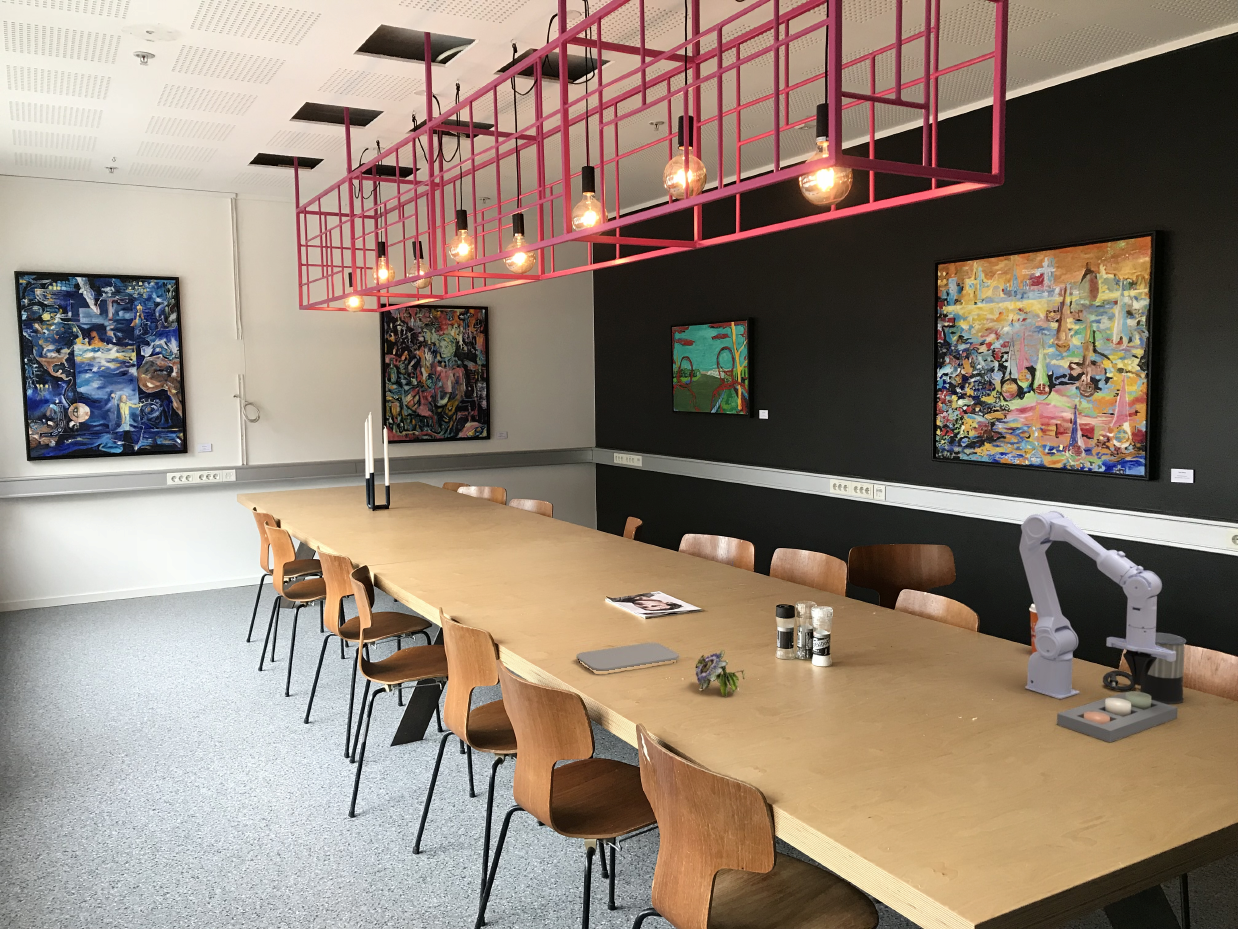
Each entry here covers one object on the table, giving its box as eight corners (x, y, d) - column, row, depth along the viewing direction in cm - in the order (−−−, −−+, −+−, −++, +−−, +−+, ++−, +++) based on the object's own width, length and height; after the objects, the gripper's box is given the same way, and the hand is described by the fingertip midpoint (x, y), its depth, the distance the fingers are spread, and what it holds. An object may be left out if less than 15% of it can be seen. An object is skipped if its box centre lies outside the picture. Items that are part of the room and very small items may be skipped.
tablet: (683, 664, 246) (683, 656, 246) (596, 678, 235) (596, 670, 235) (655, 649, 261) (655, 641, 261) (572, 661, 250) (572, 653, 250)
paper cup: (1021, 653, 252) (1023, 604, 251) (1042, 650, 254) (1044, 601, 253) (1043, 661, 244) (1045, 610, 243) (1065, 657, 247) (1066, 607, 246)
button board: (1056, 724, 199) (1057, 713, 199) (1124, 702, 212) (1124, 692, 212) (1110, 742, 188) (1110, 731, 188) (1177, 718, 202) (1177, 707, 202)
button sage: (1120, 705, 205) (1121, 694, 205) (1133, 701, 208) (1133, 690, 207) (1142, 712, 201) (1143, 700, 201) (1155, 708, 203) (1155, 696, 203)
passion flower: (702, 711, 224) (683, 667, 229) (740, 697, 228) (720, 654, 233) (715, 699, 215) (695, 653, 220) (754, 685, 219) (734, 639, 224)
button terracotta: (1078, 726, 197) (1079, 714, 197) (1092, 722, 200) (1092, 710, 199) (1100, 734, 193) (1101, 721, 193) (1114, 729, 195) (1114, 716, 195)
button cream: (1100, 712, 201) (1100, 700, 201) (1113, 708, 204) (1113, 696, 203) (1122, 719, 197) (1122, 707, 196) (1135, 715, 199) (1135, 702, 199)
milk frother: (1190, 706, 209) (1193, 643, 208) (1116, 701, 213) (1118, 640, 211) (1166, 686, 223) (1169, 627, 222) (1097, 682, 227) (1099, 624, 225)
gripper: (1099, 621, 207) (1097, 678, 208) (1164, 635, 194) (1162, 696, 195) (1117, 616, 210) (1115, 673, 211) (1182, 630, 198) (1179, 690, 199)
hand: (1139, 684), depth 204 cm, fingers closed
